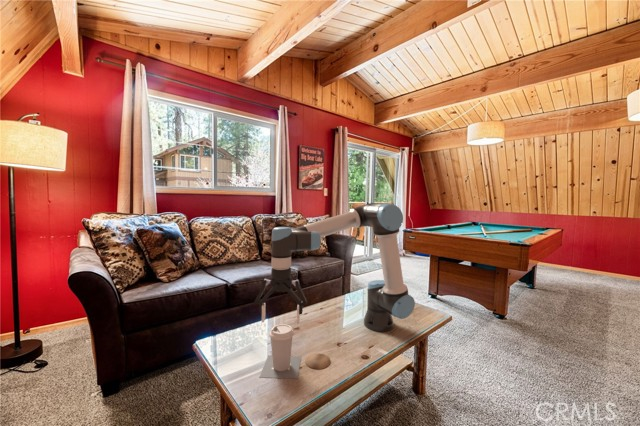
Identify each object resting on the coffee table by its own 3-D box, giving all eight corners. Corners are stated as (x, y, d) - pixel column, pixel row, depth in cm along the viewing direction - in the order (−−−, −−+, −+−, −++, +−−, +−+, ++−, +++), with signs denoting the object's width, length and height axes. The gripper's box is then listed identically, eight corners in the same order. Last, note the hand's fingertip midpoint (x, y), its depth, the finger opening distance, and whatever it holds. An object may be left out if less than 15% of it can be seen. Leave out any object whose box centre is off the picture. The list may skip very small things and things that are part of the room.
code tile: (301, 356, 114) (301, 356, 114) (297, 378, 100) (297, 378, 100) (268, 355, 114) (268, 355, 114) (259, 377, 100) (259, 377, 100)
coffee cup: (270, 359, 111) (270, 323, 111) (294, 358, 112) (294, 322, 111) (268, 374, 102) (267, 335, 101) (293, 373, 103) (293, 334, 102)
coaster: (330, 354, 115) (330, 353, 115) (330, 369, 105) (330, 368, 105) (306, 354, 116) (306, 353, 116) (304, 368, 106) (304, 367, 106)
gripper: (314, 265, 108) (313, 318, 109) (252, 264, 109) (252, 316, 110) (312, 270, 101) (312, 327, 102) (246, 268, 102) (246, 324, 103)
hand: (280, 321), depth 106 cm, fingers open, 13 cm apart
